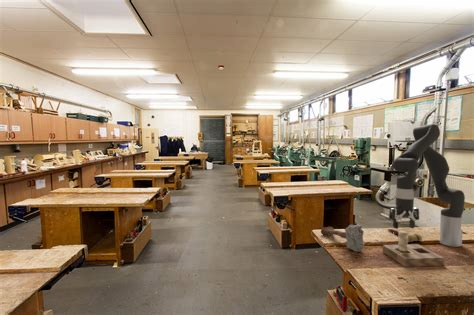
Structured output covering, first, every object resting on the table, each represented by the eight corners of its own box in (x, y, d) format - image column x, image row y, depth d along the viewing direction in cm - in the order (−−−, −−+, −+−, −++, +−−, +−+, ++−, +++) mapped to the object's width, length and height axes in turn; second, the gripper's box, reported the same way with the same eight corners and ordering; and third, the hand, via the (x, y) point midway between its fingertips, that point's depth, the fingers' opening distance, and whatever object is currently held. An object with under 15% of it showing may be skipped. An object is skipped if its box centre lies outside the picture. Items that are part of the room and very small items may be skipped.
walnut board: (417, 251, 132) (417, 243, 132) (443, 265, 116) (444, 257, 116) (382, 252, 131) (383, 244, 130) (404, 266, 115) (405, 258, 115)
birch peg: (403, 256, 125) (404, 230, 125) (409, 260, 121) (410, 233, 120) (395, 256, 125) (396, 230, 124) (401, 260, 121) (402, 233, 120)
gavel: (381, 226, 163) (394, 225, 165) (381, 233, 163) (394, 232, 164) (407, 236, 142) (422, 235, 144) (407, 243, 142) (422, 242, 144)
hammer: (334, 237, 159) (371, 249, 130) (322, 242, 156) (357, 256, 127) (328, 216, 159) (364, 223, 131) (316, 220, 156) (350, 229, 128)
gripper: (412, 195, 125) (411, 225, 126) (386, 195, 125) (385, 225, 125) (424, 198, 118) (423, 230, 119) (396, 199, 117) (395, 231, 118)
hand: (403, 228), depth 122 cm, fingers open, 8 cm apart
